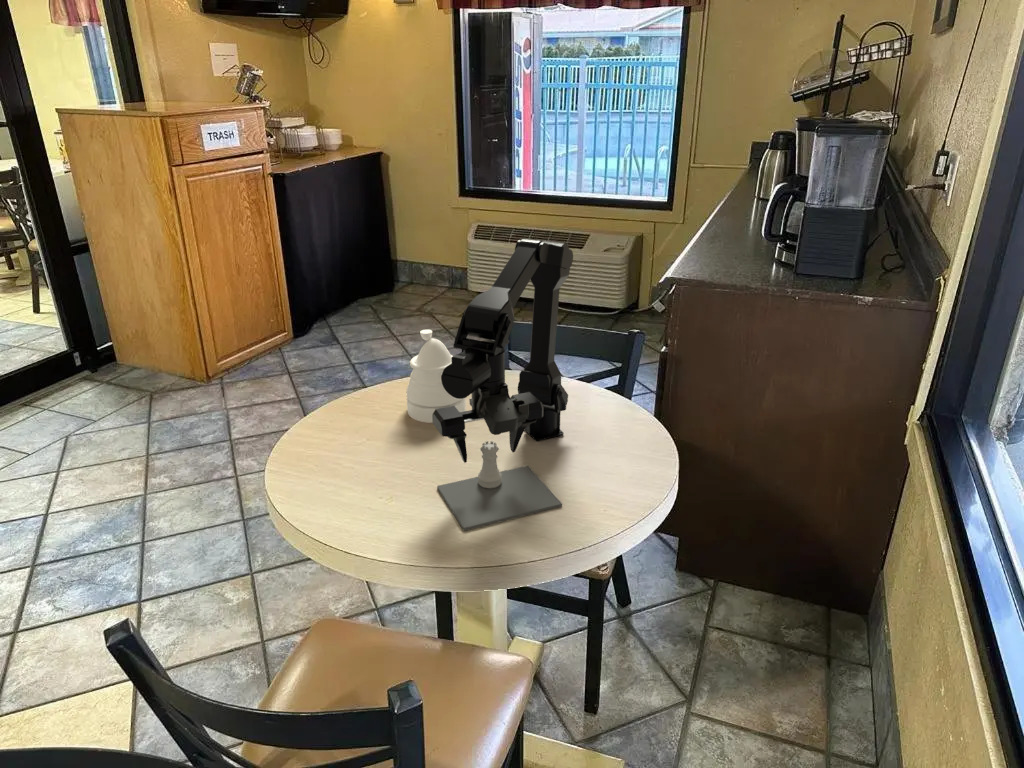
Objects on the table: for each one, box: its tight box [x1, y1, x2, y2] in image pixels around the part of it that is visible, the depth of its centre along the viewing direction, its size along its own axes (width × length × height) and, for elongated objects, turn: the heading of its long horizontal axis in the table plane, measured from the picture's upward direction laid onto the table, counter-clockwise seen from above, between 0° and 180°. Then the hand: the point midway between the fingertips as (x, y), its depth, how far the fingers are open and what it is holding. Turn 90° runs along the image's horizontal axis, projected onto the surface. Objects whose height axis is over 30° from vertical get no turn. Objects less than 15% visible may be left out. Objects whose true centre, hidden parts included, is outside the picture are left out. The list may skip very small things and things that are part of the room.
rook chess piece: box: [477, 440, 502, 489], centre depth 128 cm, size 4×4×8 cm
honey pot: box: [406, 329, 467, 424], centre depth 155 cm, size 13×13×18 cm
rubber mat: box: [437, 465, 563, 532], centre depth 126 cm, size 18×14×1 cm
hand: (489, 456), depth 127 cm, fingers open, 9 cm apart
